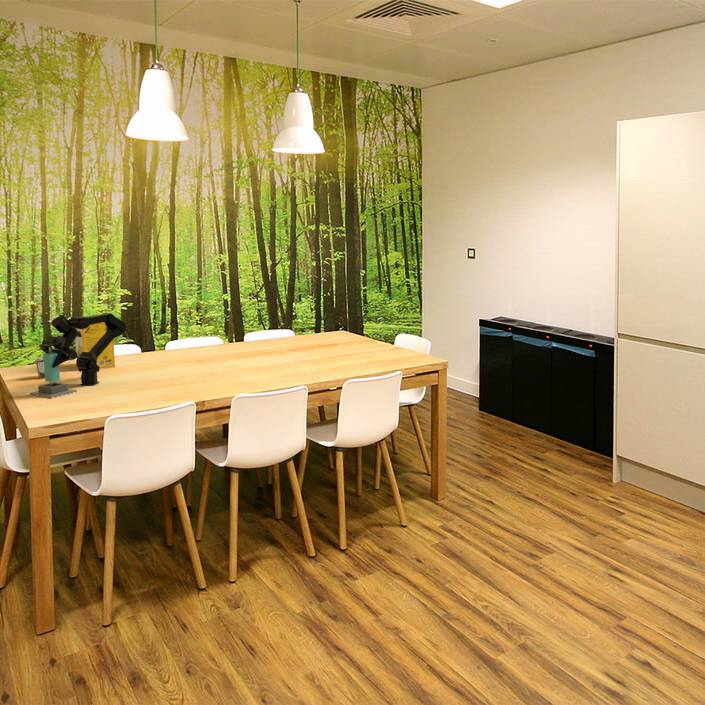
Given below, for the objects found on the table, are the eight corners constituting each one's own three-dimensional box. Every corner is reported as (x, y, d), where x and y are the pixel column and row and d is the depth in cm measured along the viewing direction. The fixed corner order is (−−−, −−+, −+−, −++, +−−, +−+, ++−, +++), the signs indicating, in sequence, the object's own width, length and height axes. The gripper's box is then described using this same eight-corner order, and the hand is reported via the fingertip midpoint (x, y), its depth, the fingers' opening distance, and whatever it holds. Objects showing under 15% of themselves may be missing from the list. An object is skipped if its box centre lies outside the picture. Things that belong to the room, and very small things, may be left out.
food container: (54, 373, 356) (53, 354, 354) (60, 375, 352) (59, 356, 350) (31, 377, 346) (29, 358, 344) (37, 379, 342) (35, 359, 341)
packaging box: (77, 365, 377) (73, 320, 373) (107, 362, 386) (104, 318, 381) (83, 370, 364) (80, 323, 359) (115, 367, 372) (112, 321, 368)
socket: (55, 388, 324) (55, 380, 323) (76, 391, 318) (76, 383, 317) (30, 394, 312) (29, 386, 311) (51, 398, 306) (50, 389, 305)
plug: (53, 379, 317) (51, 349, 314) (60, 380, 315) (57, 350, 312) (45, 381, 313) (42, 350, 310) (52, 382, 311) (49, 351, 308)
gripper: (42, 327, 317) (23, 354, 310) (70, 330, 309) (51, 358, 301) (57, 341, 325) (39, 368, 318) (85, 344, 317) (67, 372, 309)
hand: (49, 366), depth 311 cm, fingers closed on plug, 4 cm apart
